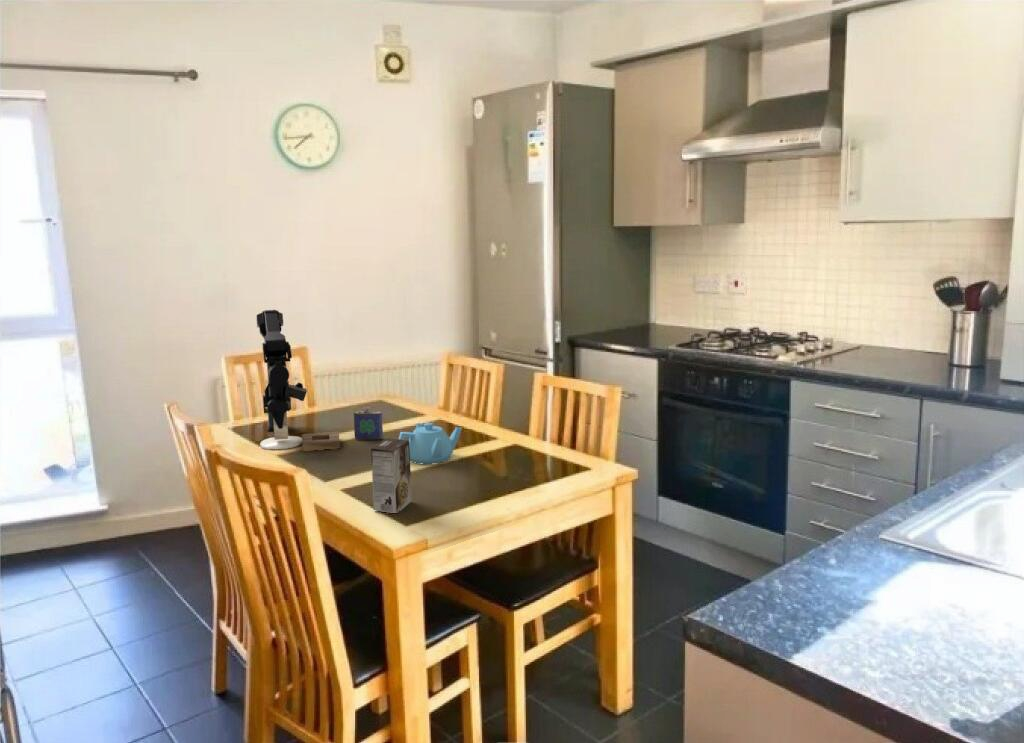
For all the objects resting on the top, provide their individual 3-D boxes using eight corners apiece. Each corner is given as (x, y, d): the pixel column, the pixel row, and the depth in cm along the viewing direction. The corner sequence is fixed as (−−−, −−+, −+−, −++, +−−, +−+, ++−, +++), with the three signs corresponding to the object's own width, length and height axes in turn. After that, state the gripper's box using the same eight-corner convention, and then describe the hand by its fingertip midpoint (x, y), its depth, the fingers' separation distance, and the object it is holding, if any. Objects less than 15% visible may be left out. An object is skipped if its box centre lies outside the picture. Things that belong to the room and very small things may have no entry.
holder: (302, 441, 246) (302, 434, 246) (338, 439, 249) (338, 431, 248) (302, 451, 235) (302, 443, 235) (340, 448, 238) (339, 441, 238)
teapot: (419, 449, 238) (418, 415, 236) (463, 453, 233) (462, 419, 230) (394, 463, 224) (392, 427, 222) (440, 468, 219) (439, 432, 216)
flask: (383, 438, 250) (382, 406, 248) (381, 440, 247) (380, 408, 245) (355, 438, 250) (354, 406, 248) (353, 440, 247) (351, 408, 245)
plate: (261, 440, 248) (261, 437, 248) (303, 437, 252) (303, 434, 252) (259, 451, 236) (259, 448, 236) (303, 447, 239) (303, 445, 239)
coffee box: (389, 499, 194) (386, 437, 191) (412, 501, 193) (410, 439, 189) (372, 512, 186) (369, 447, 183) (396, 514, 184) (394, 449, 181)
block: (275, 436, 245) (273, 408, 243) (288, 435, 246) (286, 408, 244) (274, 439, 241) (272, 411, 239) (287, 438, 242) (286, 411, 240)
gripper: (304, 382, 233) (307, 432, 236) (304, 371, 251) (307, 417, 254) (265, 385, 230) (269, 435, 233) (268, 373, 248) (271, 420, 251)
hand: (280, 426), depth 243 cm, fingers closed on block, 4 cm apart
